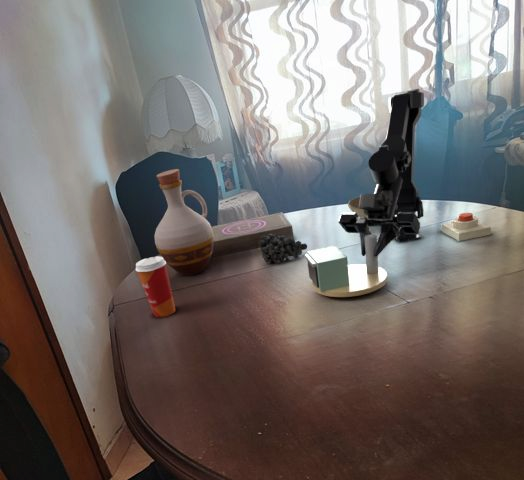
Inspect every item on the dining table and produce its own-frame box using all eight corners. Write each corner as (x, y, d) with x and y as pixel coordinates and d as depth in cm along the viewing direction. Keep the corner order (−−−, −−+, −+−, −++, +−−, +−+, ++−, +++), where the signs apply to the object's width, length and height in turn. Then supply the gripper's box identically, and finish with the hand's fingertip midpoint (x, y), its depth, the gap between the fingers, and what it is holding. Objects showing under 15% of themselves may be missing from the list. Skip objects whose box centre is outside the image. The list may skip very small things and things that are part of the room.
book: (284, 225, 176) (282, 212, 174) (294, 240, 156) (292, 225, 154) (205, 241, 175) (202, 228, 173) (205, 258, 156) (202, 243, 153)
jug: (201, 256, 158) (179, 164, 144) (235, 262, 146) (215, 162, 132) (154, 277, 147) (125, 179, 133) (186, 285, 135) (158, 178, 121)
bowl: (411, 225, 149) (410, 199, 145) (354, 234, 151) (352, 209, 147) (397, 212, 165) (396, 189, 161) (345, 220, 167) (343, 198, 163)
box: (441, 231, 138) (441, 218, 136) (470, 225, 138) (471, 212, 136) (458, 241, 128) (459, 226, 127) (490, 234, 129) (491, 220, 127)
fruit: (303, 223, 138) (254, 232, 137) (310, 238, 133) (259, 247, 132) (304, 247, 145) (257, 256, 144) (311, 262, 139) (262, 272, 138)
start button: (456, 220, 133) (456, 214, 132) (468, 218, 133) (468, 212, 132) (462, 223, 130) (462, 217, 129) (474, 220, 130) (475, 214, 129)
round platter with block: (304, 277, 121) (299, 239, 116) (373, 263, 121) (371, 225, 116) (318, 303, 105) (313, 260, 100) (398, 287, 105) (397, 244, 100)
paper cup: (152, 309, 123) (136, 259, 116) (180, 303, 123) (166, 253, 116) (148, 321, 116) (131, 269, 109) (178, 315, 116) (163, 262, 109)
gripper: (338, 179, 111) (320, 239, 109) (415, 175, 100) (396, 241, 98) (355, 203, 120) (339, 259, 118) (427, 202, 109) (411, 263, 107)
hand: (369, 255), depth 110 cm, fingers closed on round platter with block, 3 cm apart
